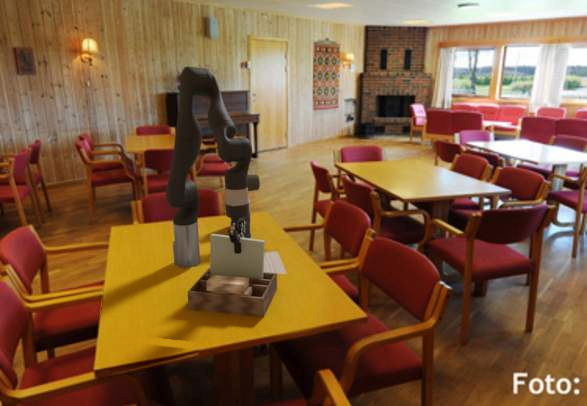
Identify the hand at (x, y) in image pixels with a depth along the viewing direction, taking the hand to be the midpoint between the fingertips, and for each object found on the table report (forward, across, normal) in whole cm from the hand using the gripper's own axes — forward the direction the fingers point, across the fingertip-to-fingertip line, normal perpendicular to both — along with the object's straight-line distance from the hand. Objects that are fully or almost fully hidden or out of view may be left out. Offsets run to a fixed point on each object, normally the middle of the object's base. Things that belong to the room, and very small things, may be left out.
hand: (238, 251), depth 144 cm
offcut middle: (+11, +11, +1) cm, 15 cm away
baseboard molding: (+16, -21, +5) cm, 27 cm away
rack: (+16, +6, 0) cm, 17 cm away
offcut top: (+8, +11, 0) cm, 13 cm away
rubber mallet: (+16, -51, -13) cm, 55 cm away
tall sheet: (+13, 0, -1) cm, 13 cm away
